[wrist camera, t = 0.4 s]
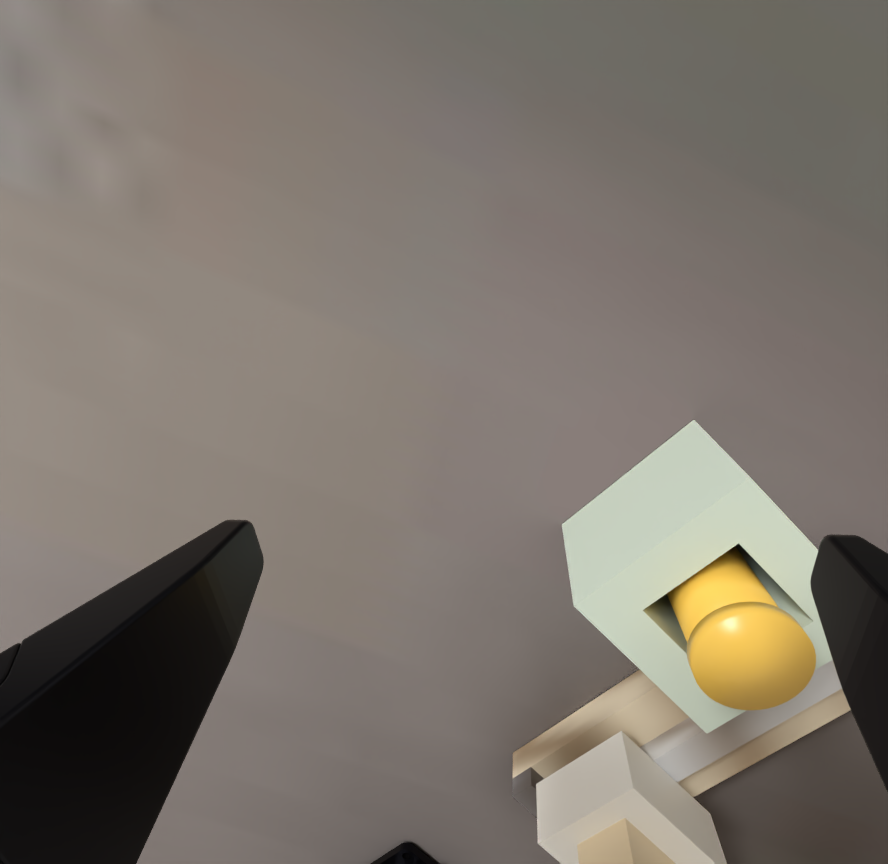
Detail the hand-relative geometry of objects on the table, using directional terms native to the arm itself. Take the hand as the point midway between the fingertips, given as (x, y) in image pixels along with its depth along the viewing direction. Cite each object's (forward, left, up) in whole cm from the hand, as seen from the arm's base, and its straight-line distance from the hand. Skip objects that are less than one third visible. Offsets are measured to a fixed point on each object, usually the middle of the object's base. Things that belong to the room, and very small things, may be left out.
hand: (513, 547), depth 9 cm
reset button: (0, -10, -12) cm, 16 cm away
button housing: (0, -10, -15) cm, 18 cm away
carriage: (-10, -18, -12) cm, 24 cm away
